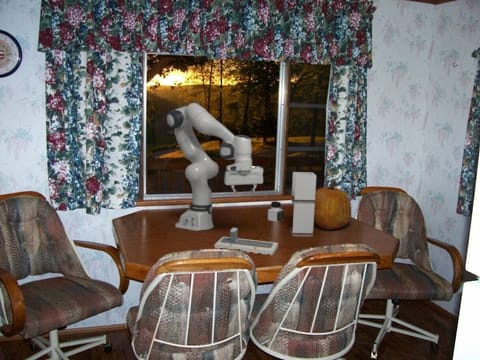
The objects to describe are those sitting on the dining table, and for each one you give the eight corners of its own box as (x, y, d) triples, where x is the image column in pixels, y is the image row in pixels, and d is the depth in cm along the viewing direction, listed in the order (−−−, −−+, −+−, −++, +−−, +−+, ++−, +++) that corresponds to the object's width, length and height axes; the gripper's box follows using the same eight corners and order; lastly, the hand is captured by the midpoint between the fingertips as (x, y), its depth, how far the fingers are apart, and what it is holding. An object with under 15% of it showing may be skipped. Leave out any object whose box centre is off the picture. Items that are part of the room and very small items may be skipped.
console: (214, 248, 229) (214, 242, 229) (223, 240, 242) (223, 234, 242) (272, 255, 221) (272, 249, 221) (277, 246, 234) (278, 241, 234)
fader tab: (228, 242, 231) (228, 230, 230) (231, 240, 236) (231, 227, 235) (236, 243, 230) (236, 230, 229) (238, 240, 235) (239, 228, 234)
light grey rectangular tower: (309, 231, 264) (312, 172, 258) (312, 236, 254) (316, 175, 248) (289, 230, 264) (292, 172, 258) (292, 236, 253) (295, 175, 247)
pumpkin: (322, 219, 291) (325, 174, 286) (355, 226, 277) (359, 179, 272) (301, 227, 271) (304, 178, 266) (335, 235, 257) (338, 184, 252)
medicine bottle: (276, 222, 282) (277, 203, 280) (267, 220, 286) (268, 201, 284) (282, 220, 288) (283, 201, 285) (273, 218, 292) (274, 200, 290)
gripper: (261, 165, 237) (262, 191, 239) (223, 166, 234) (224, 192, 236) (264, 166, 231) (264, 192, 233) (225, 167, 228) (225, 194, 230)
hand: (244, 193), depth 234 cm, fingers open, 8 cm apart
